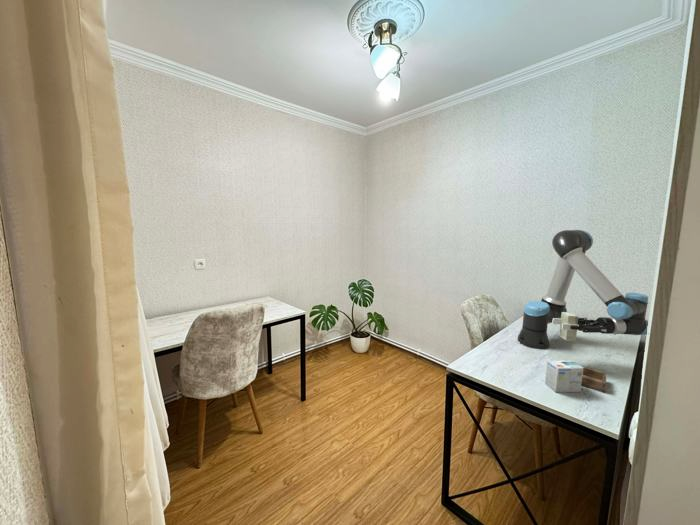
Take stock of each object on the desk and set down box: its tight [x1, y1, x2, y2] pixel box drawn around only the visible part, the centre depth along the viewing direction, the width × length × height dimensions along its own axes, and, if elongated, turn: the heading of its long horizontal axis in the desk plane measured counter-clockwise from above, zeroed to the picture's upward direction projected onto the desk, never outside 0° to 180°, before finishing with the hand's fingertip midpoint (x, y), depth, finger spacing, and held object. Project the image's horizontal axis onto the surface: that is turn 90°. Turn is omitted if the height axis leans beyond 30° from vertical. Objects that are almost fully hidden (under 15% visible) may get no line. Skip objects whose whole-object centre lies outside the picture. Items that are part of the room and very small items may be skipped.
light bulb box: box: [544, 359, 584, 393], centre depth 117 cm, size 11×7×11 cm, turn 92°
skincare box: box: [558, 311, 579, 342], centre depth 135 cm, size 6×4×12 cm
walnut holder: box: [580, 365, 607, 394], centre depth 122 cm, size 11×11×4 cm
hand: (557, 323), depth 135 cm, fingers closed on skincare box, 6 cm apart
